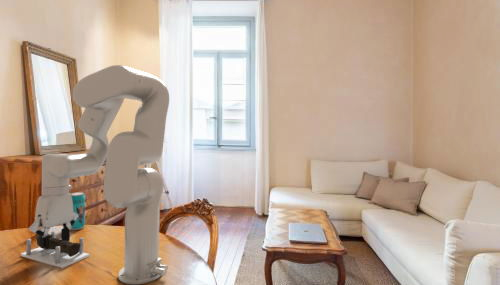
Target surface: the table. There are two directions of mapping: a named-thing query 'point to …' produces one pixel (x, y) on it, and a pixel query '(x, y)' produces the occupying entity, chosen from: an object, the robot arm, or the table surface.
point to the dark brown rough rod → (62, 245)
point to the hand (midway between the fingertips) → (55, 243)
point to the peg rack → (54, 254)
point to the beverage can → (78, 210)
